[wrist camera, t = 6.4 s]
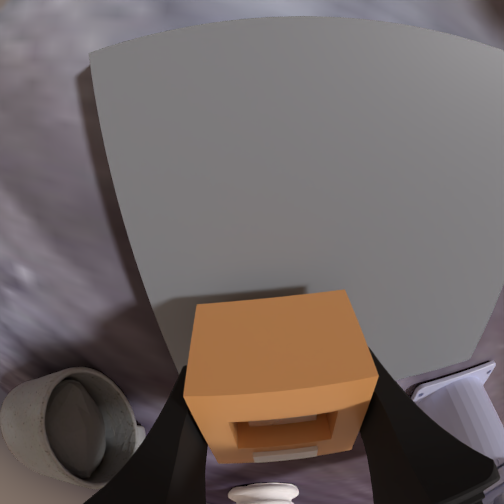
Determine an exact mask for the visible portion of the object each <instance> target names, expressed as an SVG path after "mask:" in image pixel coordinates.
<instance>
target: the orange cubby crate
mask: <svg viewBox="0 0 504 504" xmlns="http://www.w3.org/2000/svg"><path fill="white" fill-rule="evenodd" d="M378 377H379V375H378V372H377V369H376V367H375V364H374V361H373V359H372V356H371V353H370V351H369V348H368V345H367V343H366V340H365V338H364V335H363V333H362V330H361V327H360V325H359V322H358V320H357V317H356V315H355V312H354V310H353V308H352V305H351V303H350V300H349V298H348V295H347V293H346V291H345V289H344V290H336V291H328V292H319V293H311V294H302V295H293V296H283V297H274V298H264V299H254V300H243V301H232V302H220V303H208V304H197V306H196V312H195V318H194V324H193V331H192V337H191V344H190V351H189V358H188V365H187V372H186V379H185V386H184V394H183V397H184V399H185V401H186V403H187V405H188V407H189V409H190V411H191V413H192V415H193V417H194V419H195V421H196V423H197V425H198V427H199V429H200V431H201V433H202V434H203V436H204V438H205V440H206V442H207V444H208V446H209V447H210V449H211V451H212V453H213V455H214V456H215V458H216V460H217V462H218V463H219V464H220V463H251V462H255V463H261V462H274V461H284V460H293V459H302V458H309V457H316V456H319V455H325V454H331V453H337V452H342V451H347V450H351V449H352V447H353V444H354V442H355V440H356V437H357V435H358V432H359V430H360V427H361V425H362V422H363V419H364V417H365V414H366V411H367V409H368V406H369V403H370V400H371V398H372V395H373V392H374V389H375V386H376V383H377V380H378ZM315 414H317V417H316V420H312V421H304V422H297V423H288V424H279V425H268V426H255V427H249V423H248V421H260V420H272V419H282V418H291V417H300V416H307V415H315Z"/></svg>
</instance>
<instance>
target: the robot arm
mask: <svg viewBox="0 0 504 504" xmlns="http://www.w3.org/2000/svg"><path fill="white" fill-rule="evenodd" d="M368 348H369V347H368ZM369 351H370V353H371V356H372V359H373V361H374V364H375V367H376V369H377V372H378V375H379V377H378V380H377V383H376V386H375V389H374V392H373V395H372V398H371V400H370V403H369V406H368V409H367V411H366V414H365V417H364V419H363V422H362V425H361V427H360V433H361V436H362V440H363V443H364V446H365V450H366V454H367V458H368V464H369V470H370V476H371V483H372V490H373V499H374V504H504V427H503V425H502V423H501V421H500V419H499V417H498V415H497V413H496V411H495V408H494V406H493V404H492V402H491V400H490V399H489V397H488V395H487V393H486V391H485V389H484V387H483V385H484V383H485V382H486V380H487V378H488V377H489V375H490V374H491V372H492V371H493V369H494V367H495V365H496V364H495V362H494V361H490V362H488V363H485V364H482V365H480V366H477V367H474V368H471V369H468V370H466V371H463V372H460V373H457V374H454V375H450V376H447V377H444V378H441V379H438V380H434V381H431V382H427V383H424V384H421V385H419V386H418V387H417V388H416V389H415V391H414V393H413V395H412V397H411V398H410V397H409V396H408V395H407V394H406V393H405V392H404V391H403V389H402V388H401V387H400V386H399V385H398V384H397V382H396V381H395V380H394V379H393V378H392V376H391V375H390V374H389V373H388V371H387V370H386V369H385V368H384V366H383V365H382V364H381V362H380V361H379V360H378V358H377V357H376V356H375V354H374V353H373V352H372V350H371V349H370V348H369ZM186 372H187V365H184V366H183V367H182V370H181V372H180V374H179V377H178V379H177V381H176V383H175V386H174V388H173V390H172V392H171V394H170V396H169V398H168V400H167V402H166V404H165V406H164V407H163V409H162V411H161V413H160V415H159V417H158V418H157V420H156V422H155V423H154V425H153V426H152V428H151V430H150V431H149V433H148V434H147V436H146V437H145V439H144V440H143V442H142V443H141V445H140V446H139V447H138V449H137V450H136V451H135V453H134V454H133V455H132V456H131V458H130V459H129V460H128V461H127V463H126V464H125V465H124V466H123V467H122V468H121V469H120V471H119V472H118V473H117V474H116V475H115V476H114V477H113V478H112V479H111V480H110V481H109V482H108V483H107V484H106V485H105V486H104V487H103V488H101V489H100V490H99V491H98V492H97V493H96V494H94V495H93V496H92V497H91V498H89V499H88V500H87V501H86V502H85V503H84V504H206V498H205V466H206V456H207V447H208V444H207V442H206V440H205V438H204V436H203V434H202V433H201V431H200V429H199V427H198V425H197V423H196V421H195V419H194V417H193V415H192V413H191V411H190V409H189V407H188V405H187V403H186V401H185V399H184V397H183V394H184V386H185V379H186Z"/></svg>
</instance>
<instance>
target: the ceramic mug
mask: <svg viewBox="0 0 504 504" xmlns="http://www.w3.org/2000/svg"><path fill="white" fill-rule="evenodd" d="M0 427H1V431H2V436H3V438H4V440H5V443H6V445H7V446H8V448H9V449H10V451H11V452H12V454H13V455H14V456H15V457H16V458H17V459H18V460H19V461H20V462H21V463H22V464H24V465H25V466H26V467H28V468H29V469H31V470H33V471H35V472H37V473H39V474H42V475H45V476H48V477H51V478H55V479H58V480H61V481H64V482H68V483H72V484H75V485H78V486H82V487H86V488H90V489H101V488H103V487H104V486H105V485H106V484H107V483H108V482H109V481H110V480H111V479H112V478H113V477H114V476H115V475H116V474H117V473H118V472H119V471H120V469H121V468H122V467H123V466H124V465H125V464H126V463H127V461H128V460H129V459H130V458H131V456H132V455H133V454H134V453H135V451H136V450H137V449H138V446H140V445H141V443H142V442H143V440H144V439H145V437H146V436H145V429H144V427H143V426H139V425H137V423H136V419H135V416H134V413H133V410H132V408H131V406H130V404H129V402H128V400H127V398H126V397H125V395H124V394H123V393H122V391H121V390H120V389H119V387H118V386H117V385H116V384H115V383H114V382H113V381H112V380H111V379H109V378H108V377H107V376H105V375H104V374H103V373H101V372H99V371H96V370H94V369H91V368H87V367H73V368H67V369H64V370H62V371H59V372H56V373H52V374H49V375H46V376H43V377H40V378H37V379H33V380H29V381H26V382H23V383H21V384H20V385H18V386H16V387H15V388H14V389H13V390H12V391H11V392H10V393H8V395H7V396H6V398H5V400H4V402H3V404H2V407H1V411H0Z"/></svg>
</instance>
